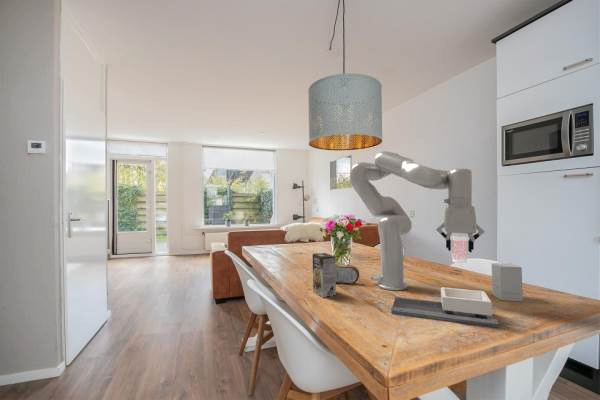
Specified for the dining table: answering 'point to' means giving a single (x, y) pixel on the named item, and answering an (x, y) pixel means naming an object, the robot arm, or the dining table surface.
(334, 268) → the coffee box
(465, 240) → the beverage cup
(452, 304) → the cart
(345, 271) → the tin
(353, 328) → the dining table surface
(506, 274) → the supplement box
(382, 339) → the dining table surface
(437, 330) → the dining table surface
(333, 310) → the dining table surface
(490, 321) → the track
